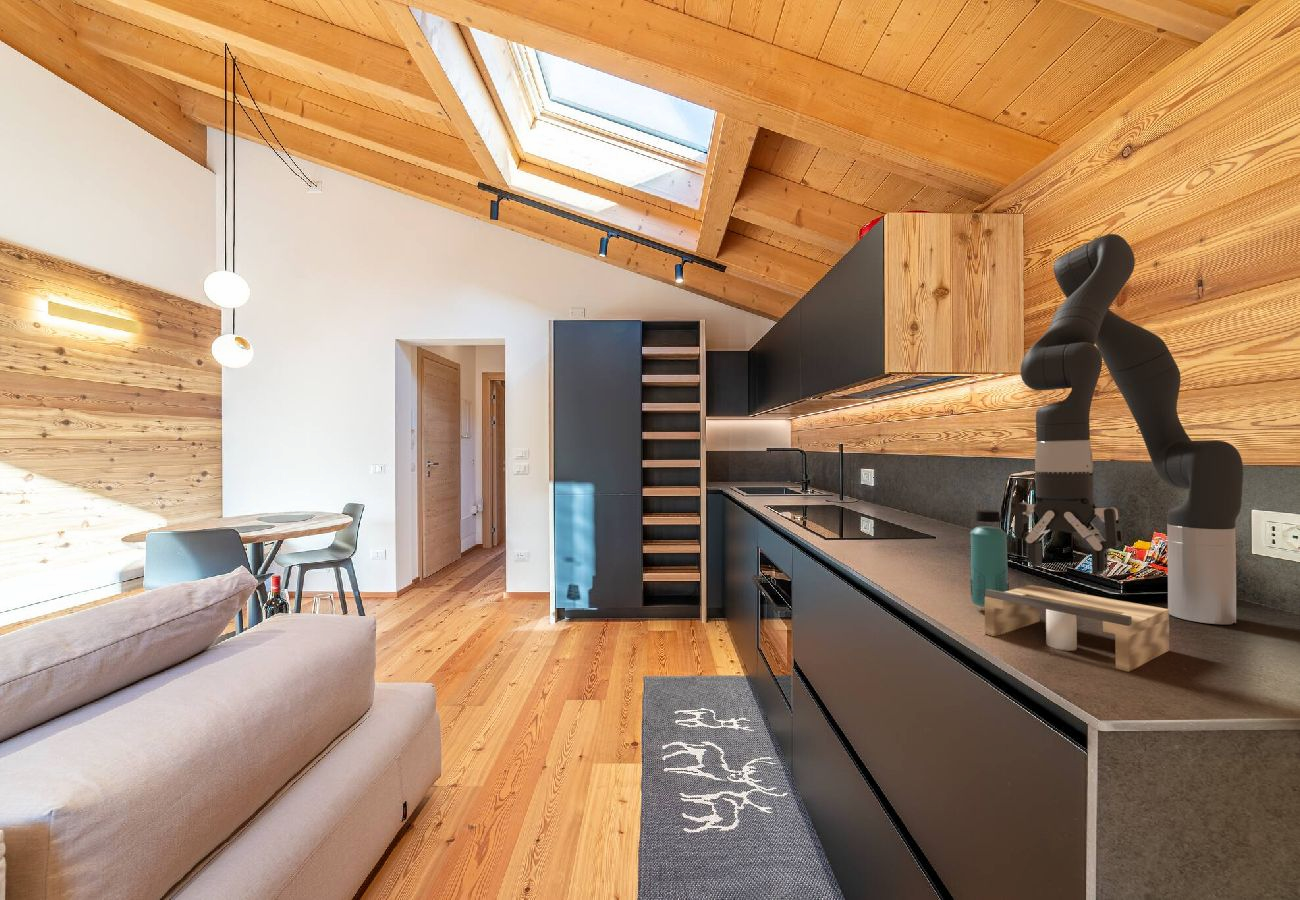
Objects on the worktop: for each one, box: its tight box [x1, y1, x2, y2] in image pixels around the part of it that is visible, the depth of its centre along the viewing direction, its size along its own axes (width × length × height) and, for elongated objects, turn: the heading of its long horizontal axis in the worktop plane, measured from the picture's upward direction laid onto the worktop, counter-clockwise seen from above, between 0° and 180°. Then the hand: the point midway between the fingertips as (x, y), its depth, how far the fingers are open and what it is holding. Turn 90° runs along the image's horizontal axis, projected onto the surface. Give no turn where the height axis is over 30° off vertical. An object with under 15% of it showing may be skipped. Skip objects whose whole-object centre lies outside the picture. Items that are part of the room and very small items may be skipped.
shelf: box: [984, 584, 1170, 673], centre depth 95 cm, size 16×20×8 cm
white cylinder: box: [1045, 609, 1078, 652], centre depth 93 cm, size 4×4×6 cm
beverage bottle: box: [969, 509, 1010, 608], centre depth 113 cm, size 6×7×20 cm
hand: (1066, 569), depth 92 cm, fingers open, 8 cm apart
